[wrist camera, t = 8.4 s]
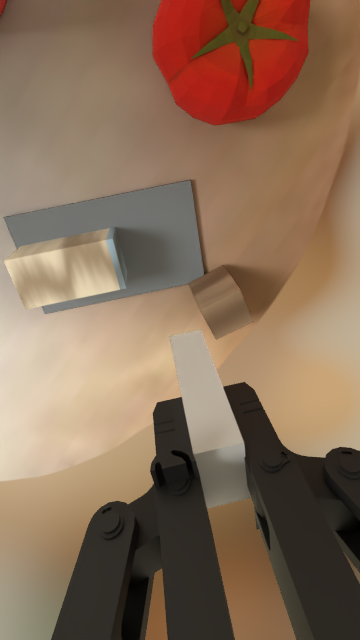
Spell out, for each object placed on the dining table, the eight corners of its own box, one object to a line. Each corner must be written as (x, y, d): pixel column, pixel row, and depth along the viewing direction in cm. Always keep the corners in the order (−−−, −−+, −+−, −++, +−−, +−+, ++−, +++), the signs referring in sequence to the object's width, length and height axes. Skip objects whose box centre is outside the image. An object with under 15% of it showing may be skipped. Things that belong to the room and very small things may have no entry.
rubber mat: (5, 217, 32) (3, 217, 32) (190, 179, 33) (190, 180, 33) (45, 312, 38) (44, 313, 37) (204, 279, 38) (205, 280, 38)
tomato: (283, 114, 31) (333, 103, 23) (161, 136, 31) (169, 132, 23) (283, -40, 26) (347, -122, 18) (137, -17, 26) (137, -89, 18)
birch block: (115, 226, 34) (20, 246, 34) (112, 238, 29) (3, 260, 29) (127, 271, 36) (39, 289, 36) (126, 288, 32) (25, 309, 32)
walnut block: (188, 282, 38) (199, 309, 33) (223, 264, 37) (240, 289, 32) (203, 310, 40) (216, 339, 35) (236, 294, 40) (253, 321, 35)
